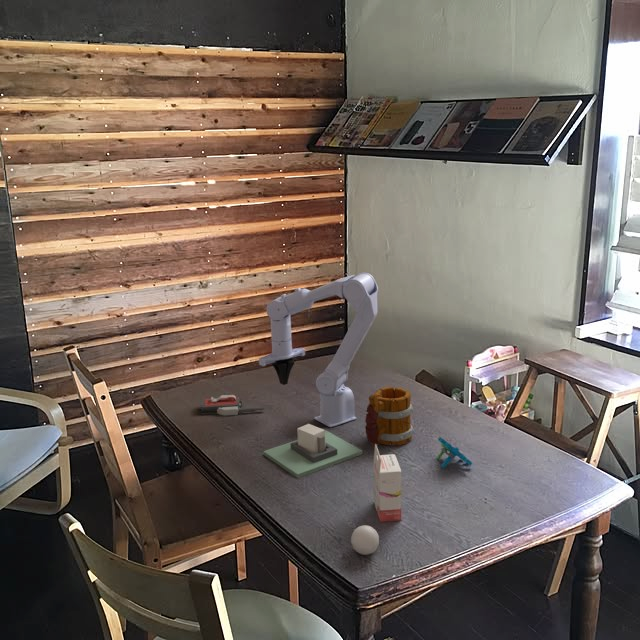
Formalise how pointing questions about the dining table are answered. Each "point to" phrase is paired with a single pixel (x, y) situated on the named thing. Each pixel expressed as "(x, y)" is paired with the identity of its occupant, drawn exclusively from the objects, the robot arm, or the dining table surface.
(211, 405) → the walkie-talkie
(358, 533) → the white egg
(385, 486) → the ink cartridge box
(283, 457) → the board
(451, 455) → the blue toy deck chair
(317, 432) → the plug
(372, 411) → the mug
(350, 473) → the dining table surface
